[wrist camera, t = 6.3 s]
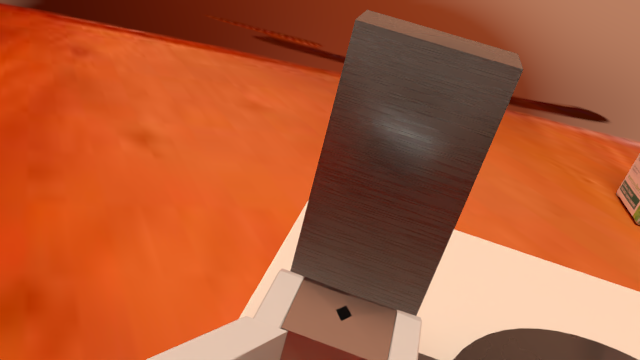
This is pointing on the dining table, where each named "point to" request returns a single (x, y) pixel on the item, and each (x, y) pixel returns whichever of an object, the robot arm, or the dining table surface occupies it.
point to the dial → (412, 174)
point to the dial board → (501, 297)
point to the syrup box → (632, 191)
